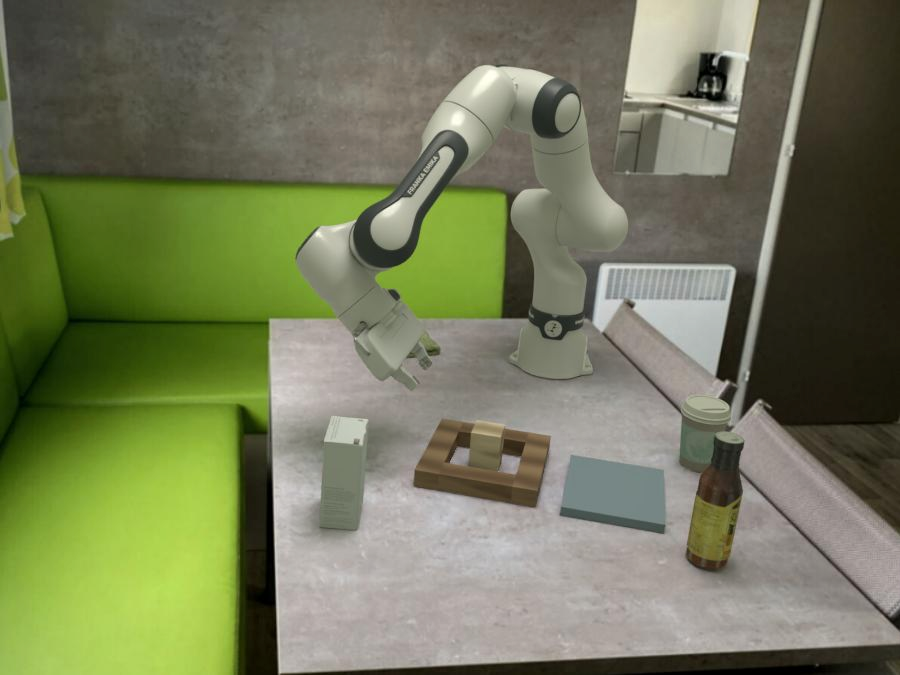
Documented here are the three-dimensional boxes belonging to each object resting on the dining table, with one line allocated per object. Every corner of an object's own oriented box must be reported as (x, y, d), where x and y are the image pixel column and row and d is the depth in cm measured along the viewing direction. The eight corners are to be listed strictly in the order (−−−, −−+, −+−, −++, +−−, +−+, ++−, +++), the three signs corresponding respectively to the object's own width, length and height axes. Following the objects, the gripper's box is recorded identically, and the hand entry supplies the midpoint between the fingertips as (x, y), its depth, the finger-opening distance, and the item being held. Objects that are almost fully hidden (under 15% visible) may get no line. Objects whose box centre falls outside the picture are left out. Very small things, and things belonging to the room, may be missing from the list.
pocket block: (440, 433, 160) (441, 418, 159) (549, 450, 156) (550, 435, 155) (413, 486, 141) (414, 469, 140) (535, 507, 138) (537, 490, 137)
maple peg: (473, 458, 152) (476, 420, 149) (501, 463, 151) (505, 424, 148) (467, 472, 147) (471, 432, 144) (496, 477, 146) (500, 437, 144)
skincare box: (326, 499, 136) (329, 413, 131) (365, 502, 136) (369, 416, 131) (318, 529, 128) (320, 439, 123) (359, 532, 128) (363, 442, 123)
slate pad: (569, 462, 153) (570, 454, 152) (662, 477, 150) (663, 469, 150) (560, 514, 136) (561, 506, 136) (663, 533, 134) (665, 524, 133)
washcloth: (352, 342, 201) (352, 329, 200) (424, 337, 207) (425, 325, 206) (366, 363, 190) (367, 350, 188) (443, 358, 196) (444, 345, 195)
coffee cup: (668, 469, 153) (680, 407, 149) (674, 449, 161) (685, 389, 156) (718, 480, 151) (731, 418, 146) (722, 459, 158) (734, 399, 154)
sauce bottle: (729, 575, 124) (757, 452, 118) (685, 567, 125) (709, 445, 119) (725, 550, 131) (751, 431, 124) (683, 543, 132) (706, 424, 125)
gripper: (363, 323, 133) (421, 390, 135) (399, 286, 152) (449, 346, 154) (335, 345, 136) (392, 412, 137) (373, 306, 155) (423, 365, 156)
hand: (422, 377), depth 146 cm, fingers open, 8 cm apart
